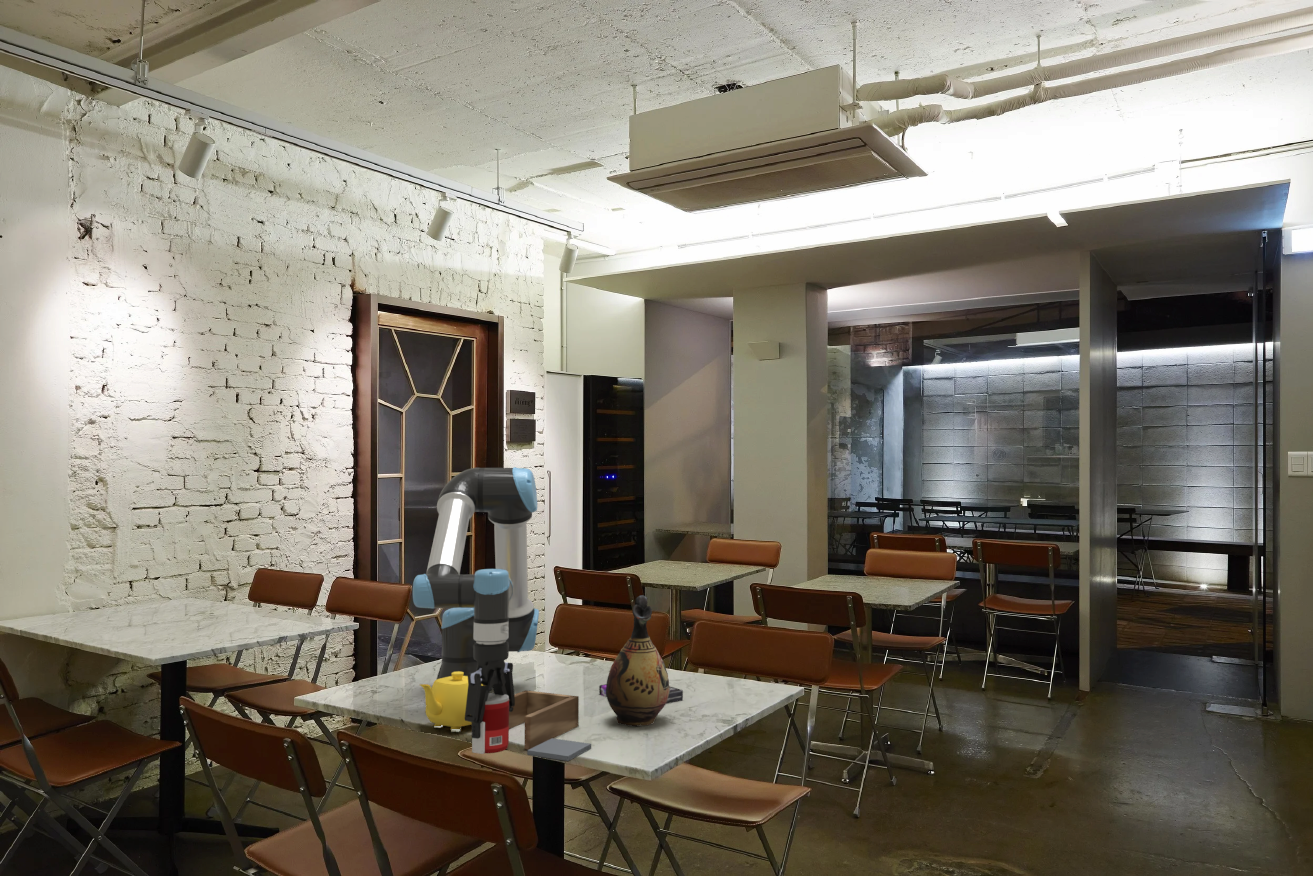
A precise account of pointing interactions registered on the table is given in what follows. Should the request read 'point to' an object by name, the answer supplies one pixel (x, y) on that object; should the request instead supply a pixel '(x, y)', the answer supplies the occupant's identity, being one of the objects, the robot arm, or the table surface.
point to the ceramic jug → (638, 675)
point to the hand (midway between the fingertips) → (490, 747)
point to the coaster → (559, 749)
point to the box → (672, 697)
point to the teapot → (447, 700)
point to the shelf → (544, 715)
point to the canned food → (496, 723)
